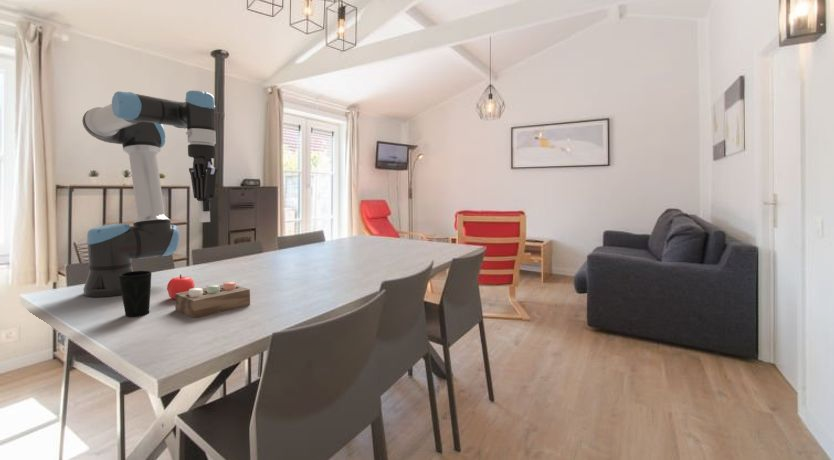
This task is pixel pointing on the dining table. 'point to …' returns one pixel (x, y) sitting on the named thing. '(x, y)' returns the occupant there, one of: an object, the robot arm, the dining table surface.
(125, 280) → the cup
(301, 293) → the dining table surface
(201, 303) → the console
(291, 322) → the dining table surface
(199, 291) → the white egg
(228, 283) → the coral button
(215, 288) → the pale green rounded piece
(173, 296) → the apple
